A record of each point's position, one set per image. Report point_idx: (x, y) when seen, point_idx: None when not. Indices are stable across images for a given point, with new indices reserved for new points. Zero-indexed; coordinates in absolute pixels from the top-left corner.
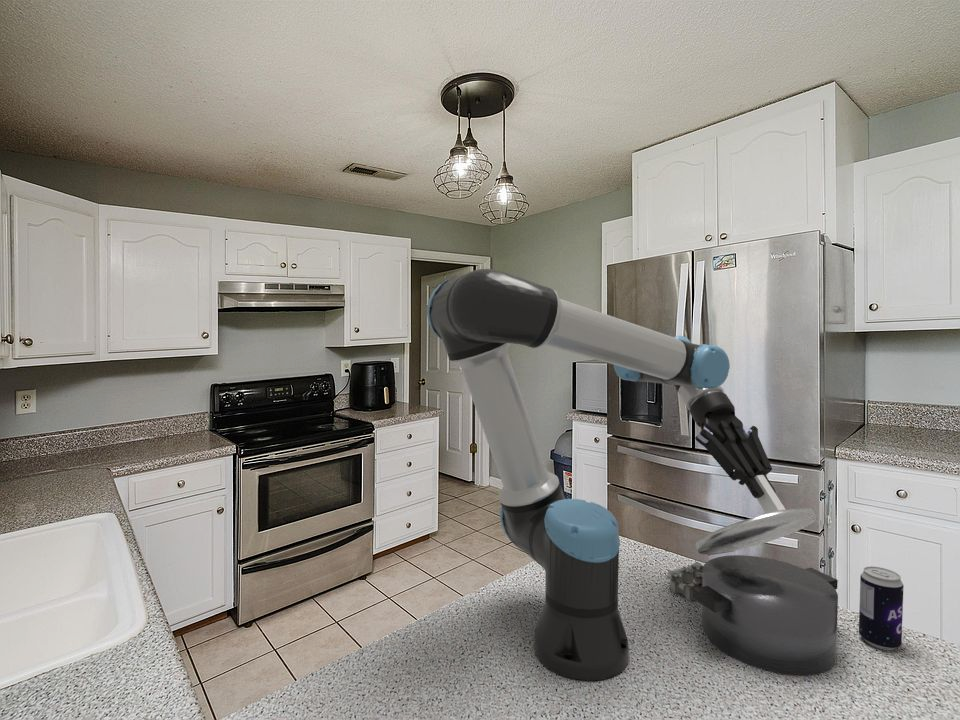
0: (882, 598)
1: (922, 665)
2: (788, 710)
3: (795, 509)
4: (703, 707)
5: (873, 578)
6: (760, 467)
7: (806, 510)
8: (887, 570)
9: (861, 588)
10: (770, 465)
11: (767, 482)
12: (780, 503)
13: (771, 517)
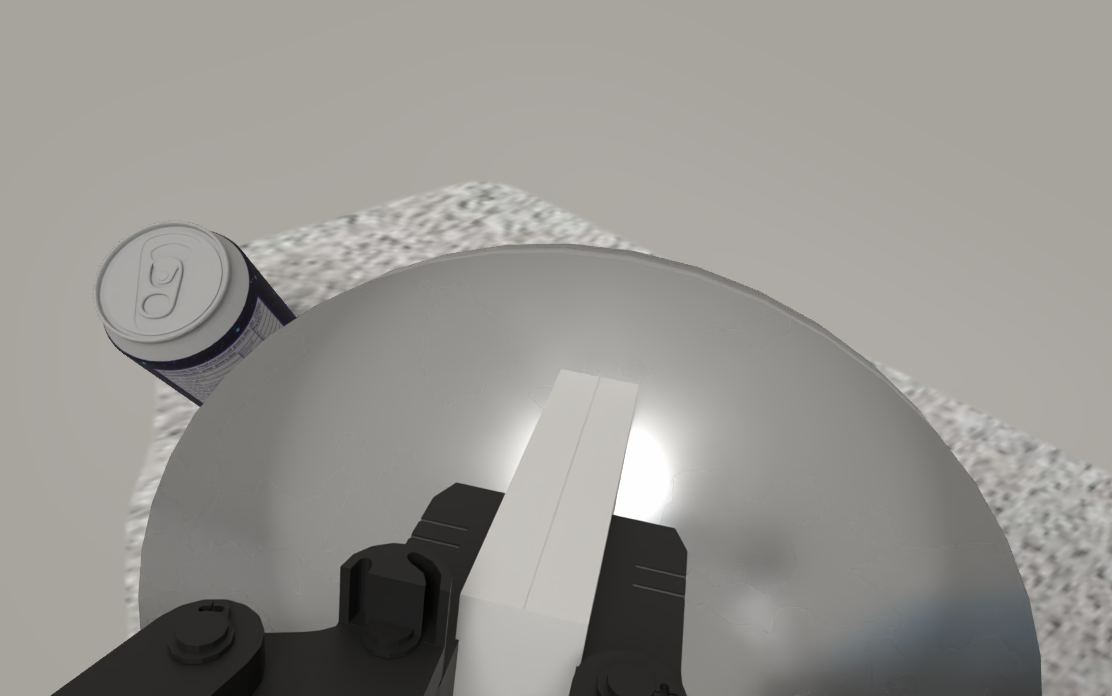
0: (268, 287)
1: (317, 278)
2: (869, 361)
3: (604, 255)
4: (1102, 486)
5: (229, 288)
6: (359, 692)
7: (473, 254)
8: (101, 283)
9: (240, 361)
10: (120, 653)
11: (502, 524)
12: (565, 396)
13: (832, 336)
